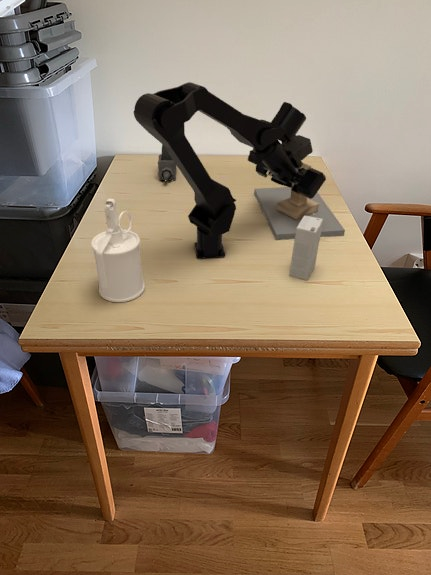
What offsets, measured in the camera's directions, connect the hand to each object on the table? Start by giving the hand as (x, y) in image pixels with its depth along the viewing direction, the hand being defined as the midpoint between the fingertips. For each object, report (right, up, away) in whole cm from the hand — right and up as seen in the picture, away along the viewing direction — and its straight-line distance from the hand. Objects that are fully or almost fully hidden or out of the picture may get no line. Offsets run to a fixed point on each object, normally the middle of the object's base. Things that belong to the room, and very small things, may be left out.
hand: (303, 190), depth 120 cm
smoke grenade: (-42, -26, -23) cm, 54 cm away
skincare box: (-3, -22, -17) cm, 28 cm away
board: (-1, -5, +5) cm, 7 cm away
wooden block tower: (-1, -5, +2) cm, 5 cm away
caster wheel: (-37, +9, +24) cm, 44 cm away
